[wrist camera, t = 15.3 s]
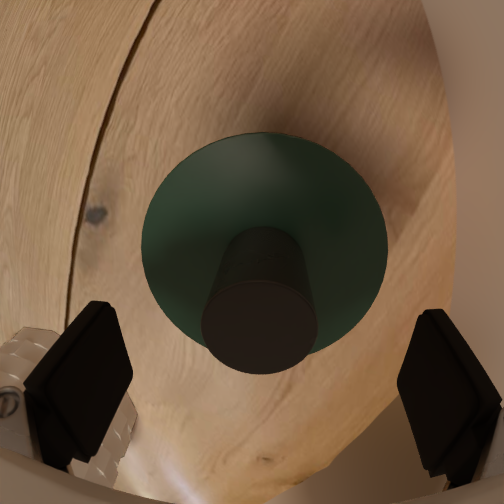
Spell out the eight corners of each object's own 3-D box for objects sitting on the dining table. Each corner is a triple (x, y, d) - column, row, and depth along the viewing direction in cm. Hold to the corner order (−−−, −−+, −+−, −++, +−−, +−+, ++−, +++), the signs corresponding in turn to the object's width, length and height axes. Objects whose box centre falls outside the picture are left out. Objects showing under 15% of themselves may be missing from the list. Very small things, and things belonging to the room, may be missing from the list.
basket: (125, 452, 44) (95, 536, 27) (16, 390, 42) (-31, 458, 24) (156, 377, 35) (105, 510, 18) (6, 290, 32) (-82, 372, 15)
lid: (423, 218, 15) (492, 271, 9) (297, 376, 20) (302, 460, 14) (214, 86, 13) (173, 59, 7) (120, 289, 18) (65, 357, 12)
